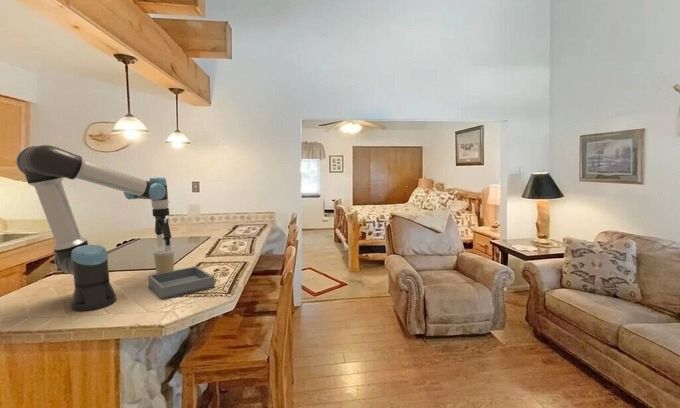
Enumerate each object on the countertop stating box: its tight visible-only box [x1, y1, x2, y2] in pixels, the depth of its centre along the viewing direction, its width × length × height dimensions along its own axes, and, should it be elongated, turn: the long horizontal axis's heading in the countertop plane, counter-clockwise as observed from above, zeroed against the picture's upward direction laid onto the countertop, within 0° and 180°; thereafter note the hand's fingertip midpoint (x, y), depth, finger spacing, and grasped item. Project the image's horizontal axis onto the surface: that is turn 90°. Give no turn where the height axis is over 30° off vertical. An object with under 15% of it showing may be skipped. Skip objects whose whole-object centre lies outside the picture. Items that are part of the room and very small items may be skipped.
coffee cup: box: [153, 249, 175, 274], centre depth 185 cm, size 9×9×12 cm
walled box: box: [147, 265, 216, 301], centre depth 165 cm, size 22×23×5 cm
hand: (164, 249), depth 184 cm, fingers open, 13 cm apart
